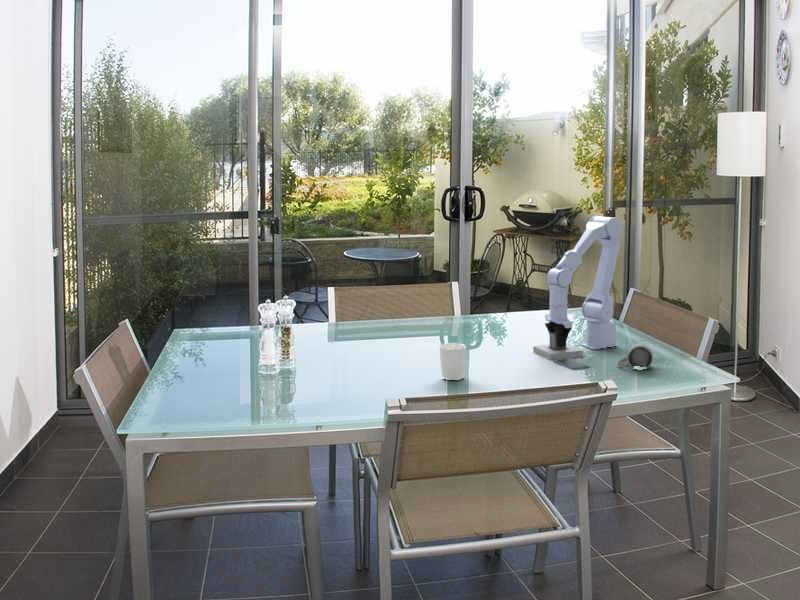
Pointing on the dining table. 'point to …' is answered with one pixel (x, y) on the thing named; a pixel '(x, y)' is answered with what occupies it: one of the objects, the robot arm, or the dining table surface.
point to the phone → (571, 363)
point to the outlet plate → (558, 352)
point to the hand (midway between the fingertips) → (558, 345)
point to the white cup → (453, 360)
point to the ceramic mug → (638, 356)
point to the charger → (555, 342)
